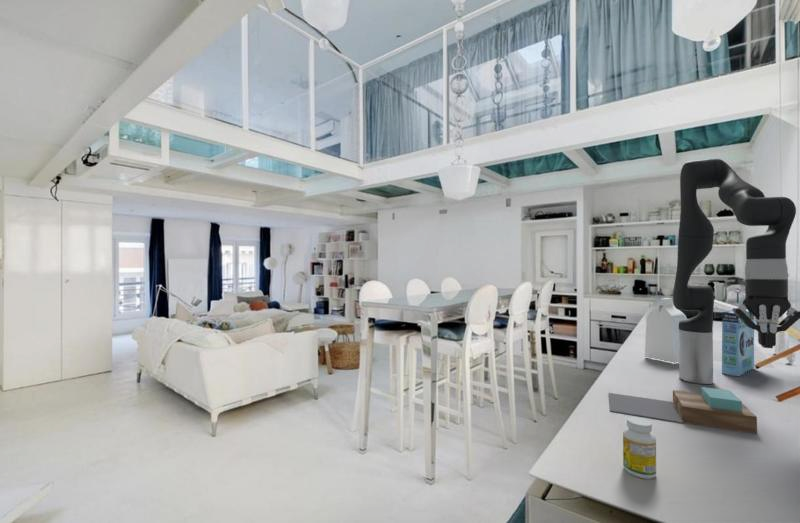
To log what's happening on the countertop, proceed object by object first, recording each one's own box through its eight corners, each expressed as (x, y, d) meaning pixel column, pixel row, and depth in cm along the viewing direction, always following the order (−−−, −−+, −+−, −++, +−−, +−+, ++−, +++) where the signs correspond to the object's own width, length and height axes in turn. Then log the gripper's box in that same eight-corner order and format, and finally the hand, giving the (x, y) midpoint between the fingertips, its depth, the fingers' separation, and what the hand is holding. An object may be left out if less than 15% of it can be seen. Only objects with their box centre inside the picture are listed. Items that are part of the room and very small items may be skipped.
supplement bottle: (654, 483, 67) (654, 429, 67) (620, 472, 70) (620, 421, 70) (657, 470, 71) (657, 420, 71) (625, 461, 74) (625, 413, 74)
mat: (608, 393, 114) (608, 392, 114) (672, 402, 106) (672, 401, 106) (610, 411, 100) (610, 410, 100) (683, 423, 92) (683, 422, 92)
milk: (674, 364, 148) (674, 300, 148) (644, 358, 158) (644, 298, 159) (690, 361, 154) (689, 299, 154) (660, 355, 164) (659, 297, 164)
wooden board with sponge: (672, 404, 105) (672, 389, 105) (737, 413, 99) (736, 398, 99) (682, 422, 93) (682, 406, 93) (757, 434, 86) (756, 417, 87)
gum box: (738, 366, 146) (737, 308, 147) (755, 369, 142) (755, 309, 142) (721, 373, 136) (720, 311, 136) (739, 377, 131) (738, 313, 132)
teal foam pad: (701, 396, 100) (701, 387, 100) (730, 400, 98) (730, 390, 98) (710, 407, 92) (710, 397, 93) (741, 411, 90) (741, 401, 90)
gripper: (795, 277, 92) (796, 347, 91) (726, 276, 98) (727, 342, 97) (811, 278, 85) (812, 353, 85) (735, 277, 91) (736, 347, 91)
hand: (766, 347), depth 91 cm, fingers closed
